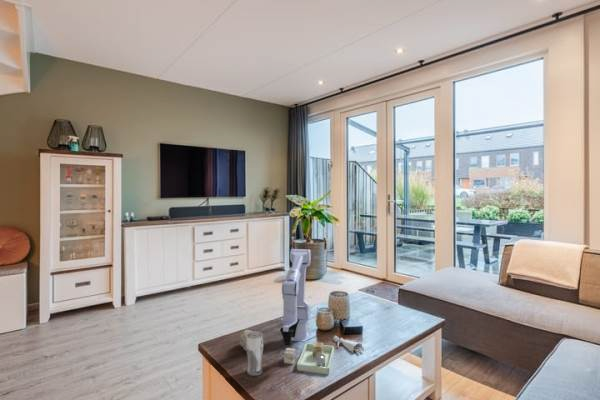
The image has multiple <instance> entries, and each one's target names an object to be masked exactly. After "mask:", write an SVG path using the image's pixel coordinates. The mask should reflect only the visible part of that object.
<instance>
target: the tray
mask: <svg viewBox="0 0 600 400" xmlns="http://www.w3.org/2000/svg"><path fill="white" fill-rule="evenodd" d="M313 345H314V343H312V342H311V343H309V342H305V345H304V347H303V349H302V351H301V354H300V356H299V358H298V360H297V363H296V371H300V372H306V373H314V374H322V375H328V376H329V375H330V372H331V371H330V370H331V368H332V364H333V359H334V355H335V346H334V345H325V344H323V354H324V355H325V367H321V366H315V358H313Z"/></svg>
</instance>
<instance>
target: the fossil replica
mask: <svg viewBox="0 0 600 400" xmlns="http://www.w3.org/2000/svg"><path fill="white" fill-rule="evenodd" d="M250 332H254V331H252V330H249V329H245V330H244V331H243V332H242V333H241V334H240V336H239V345H240V347H242V348H243V350H244V351H245V352H246V338H247V334H248V333H250Z"/></svg>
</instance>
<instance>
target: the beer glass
mask: <svg viewBox="0 0 600 400" xmlns="http://www.w3.org/2000/svg"><path fill="white" fill-rule="evenodd" d="M245 352H246V358H247V363H248V364H247V369H246V372H247V374H248V375H249V376H252V377H253V376H254V377H256V376H260V375H261V374H262V373H263V366H262V358H263V353H264V334H263V333H262V332H261V331H255V330H254V331H253V332H250V333H248V334H247V338H246V351H245Z"/></svg>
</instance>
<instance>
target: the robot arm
mask: <svg viewBox="0 0 600 400" xmlns="http://www.w3.org/2000/svg"><path fill="white" fill-rule="evenodd" d="M289 251H290V252H289V260H290V262H291V268H290V269H289V270H288V272H287V275H286V278H285V280H284V281H283V282H282V283H281V284H282V285H281V295H282V299H283V303H282V305H283V317H281V318H280V322H282V324H283V326H282V327H280V328H279V333H281V335H282V337H283V343H284V345H285V346H287V347H290V346H291V343H292V342H300V343H307V341H308V338H309V336H310V332H308V330H309V329H308V321H310V317H311V307H310V306H311V305H310V303H308V302H307V301H306V299H305V298H306V297H305V296H306V278H307V277H306V275H307V269H308V268H307V267H310V266H311V261H312V259H311V258H312V250H311V249H309V248H308V249H304V248H303V249H302V248H299V249H298V248H291V249H290V250H289Z"/></svg>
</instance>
